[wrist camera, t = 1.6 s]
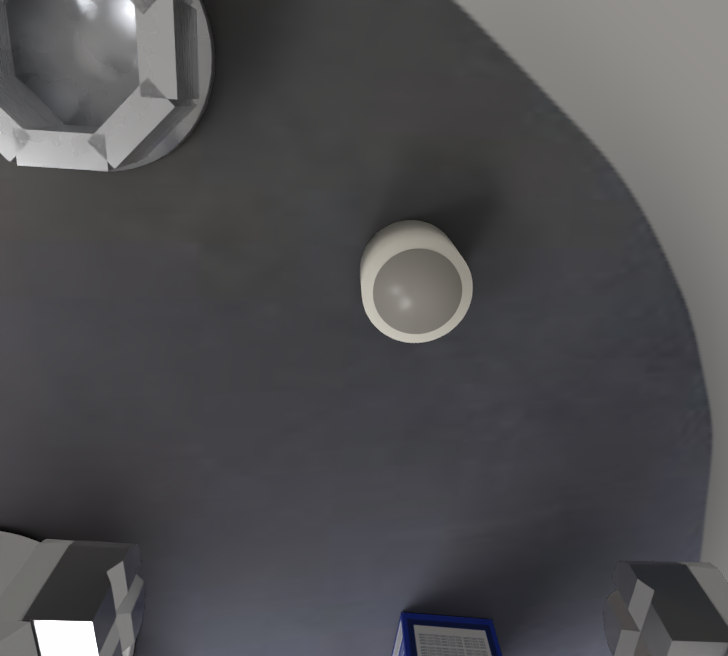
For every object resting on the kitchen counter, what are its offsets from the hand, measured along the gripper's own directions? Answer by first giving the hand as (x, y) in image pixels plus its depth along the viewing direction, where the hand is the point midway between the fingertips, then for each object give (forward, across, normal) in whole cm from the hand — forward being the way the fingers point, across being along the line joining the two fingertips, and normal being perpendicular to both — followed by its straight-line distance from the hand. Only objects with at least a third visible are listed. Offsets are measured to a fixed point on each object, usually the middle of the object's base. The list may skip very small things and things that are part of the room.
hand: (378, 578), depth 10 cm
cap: (+24, -2, +2) cm, 24 cm away
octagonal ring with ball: (+23, +13, -9) cm, 28 cm away
